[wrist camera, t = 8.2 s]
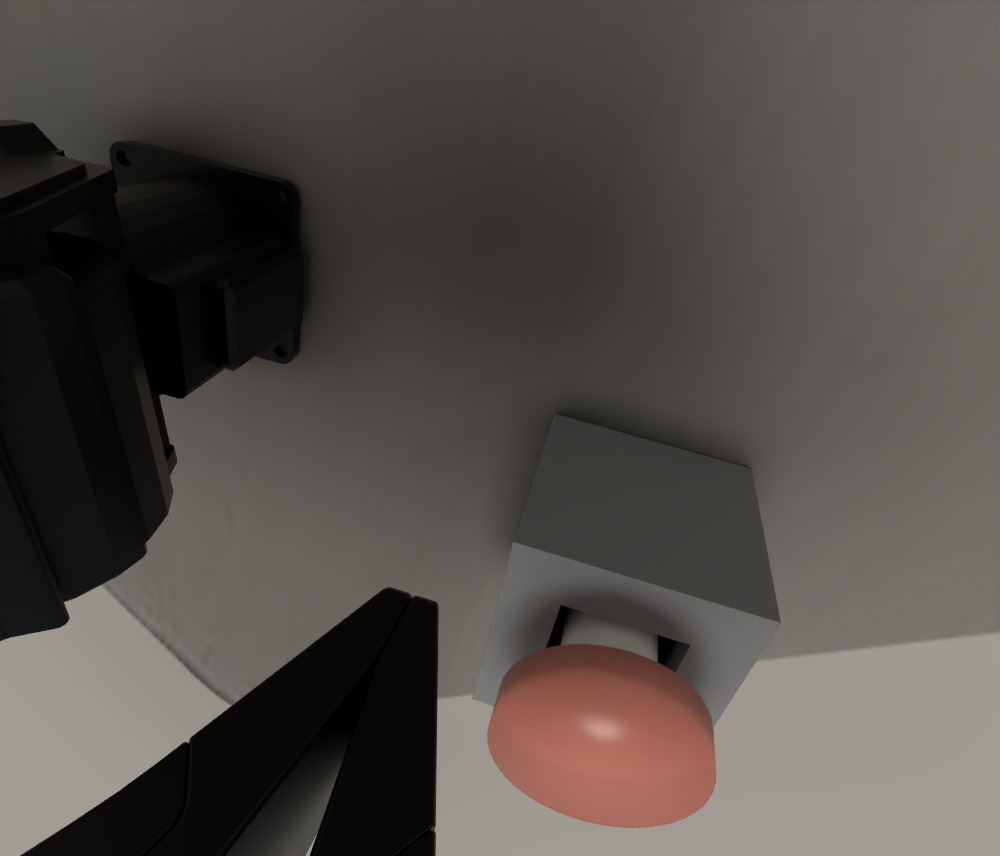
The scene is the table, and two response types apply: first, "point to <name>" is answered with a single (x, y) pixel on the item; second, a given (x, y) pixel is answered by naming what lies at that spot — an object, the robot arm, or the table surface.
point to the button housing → (638, 558)
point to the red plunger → (604, 729)
